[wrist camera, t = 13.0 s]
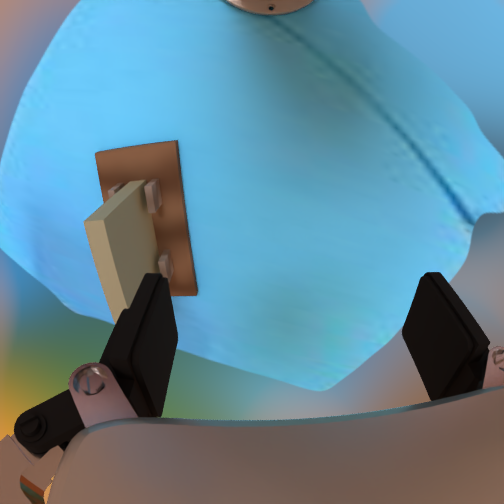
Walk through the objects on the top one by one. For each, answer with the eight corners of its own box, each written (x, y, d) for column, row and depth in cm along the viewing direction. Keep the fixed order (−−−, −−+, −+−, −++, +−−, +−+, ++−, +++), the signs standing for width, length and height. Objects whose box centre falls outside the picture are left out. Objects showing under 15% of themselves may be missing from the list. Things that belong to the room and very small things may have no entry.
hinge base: (99, 151, 34) (83, 159, 30) (177, 140, 34) (168, 146, 30) (130, 291, 43) (121, 309, 39) (197, 290, 43) (193, 309, 39)
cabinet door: (122, 182, 34) (74, 222, 24) (145, 179, 34) (103, 219, 24) (141, 271, 40) (109, 332, 29) (162, 270, 40) (136, 333, 29)
